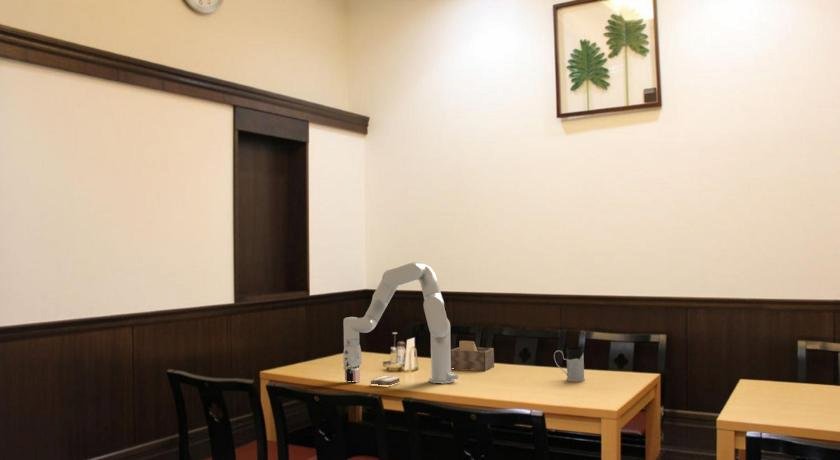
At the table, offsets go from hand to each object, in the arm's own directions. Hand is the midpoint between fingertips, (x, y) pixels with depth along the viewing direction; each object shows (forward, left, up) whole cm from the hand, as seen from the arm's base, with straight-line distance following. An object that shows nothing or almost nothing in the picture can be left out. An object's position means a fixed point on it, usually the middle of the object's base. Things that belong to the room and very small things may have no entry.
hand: (352, 380), depth 324 cm
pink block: (0, 0, -1) cm, 1 cm away
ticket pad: (-18, 0, -1) cm, 18 cm away
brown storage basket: (-40, -56, -1) cm, 69 cm away
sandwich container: (-40, -57, -1) cm, 69 cm away
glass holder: (-96, -41, -1) cm, 105 cm away
